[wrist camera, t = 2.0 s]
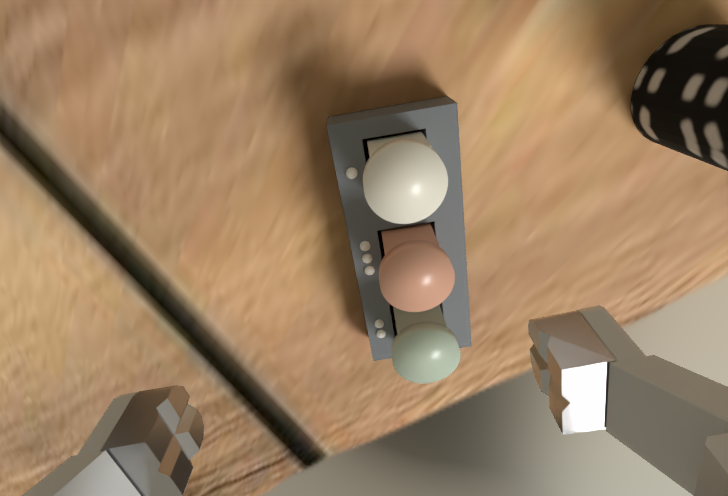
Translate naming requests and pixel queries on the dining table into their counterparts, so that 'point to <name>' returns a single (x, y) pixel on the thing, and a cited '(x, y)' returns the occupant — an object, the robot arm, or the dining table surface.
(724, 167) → the spotted tube
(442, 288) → the pink dome knob
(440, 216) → the button panel
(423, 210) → the button one dot
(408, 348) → the button two dots
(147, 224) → the dining table surface
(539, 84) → the dining table surface
